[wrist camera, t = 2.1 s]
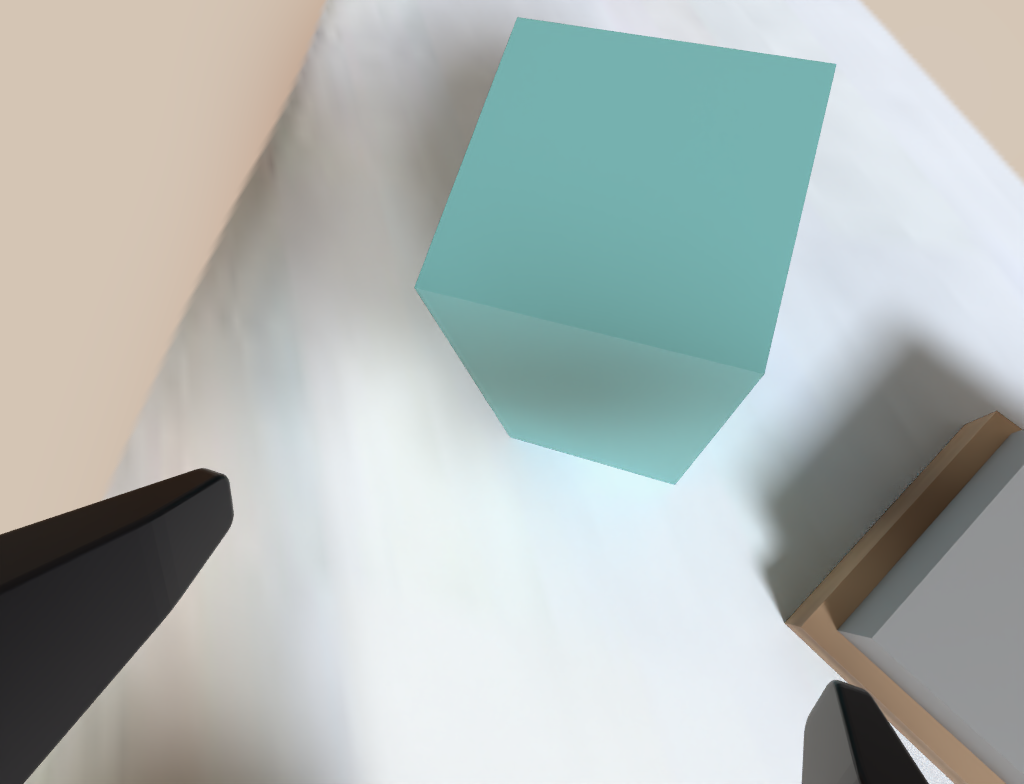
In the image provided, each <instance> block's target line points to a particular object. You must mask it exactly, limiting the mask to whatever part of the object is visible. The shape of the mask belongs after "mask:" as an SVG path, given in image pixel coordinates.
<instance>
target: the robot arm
mask: <svg viewBox="0 0 1024 784" xmlns="http://www.w3.org/2000/svg"><path fill="white" fill-rule="evenodd" d="M233 516H234V511H233V504H232V496H231V489H230V482H229V479H228V478H227V476H225V475H224V474H221V473H218V472H215V471H212V470H209V469H205V468H200V469H196V470H193V471H190V472H187V473H184V474H181V475H178V476H175V477H172V478H169V479H166V480H163V481H160V482H157V483H154V484H151V485H148V486H145V487H142V488H139V489H136V490H133V491H130V492H127V493H124V494H121V495H118V496H115V497H112V498H109V499H106V500H103V501H100V502H97V503H94V504H91V505H88V506H85V507H82V508H79V509H76V510H73V511H70V512H67V513H64V514H61V515H58V516H55V517H52V518H49V519H46V520H43V521H40V522H37V523H34V524H31V525H28V526H25V527H22V528H19V529H16V530H13V531H10V532H7V533H4V534H1V535H0V784H24V782H25V781H26V780H27V779H28V778H29V777H30V775H31V774H32V773H33V772H34V771H35V770H36V768H37V767H38V766H39V765H40V764H41V763H42V761H43V760H44V759H45V758H46V757H47V756H48V754H49V753H50V752H51V751H52V750H53V749H54V747H55V746H56V745H57V744H58V743H59V742H60V740H61V739H62V738H63V737H64V736H65V735H66V733H67V732H68V731H69V730H70V729H71V728H72V726H73V725H74V724H75V723H76V722H77V721H78V719H79V718H80V717H81V716H82V715H83V714H84V712H85V711H86V710H87V709H88V708H89V707H90V705H91V704H92V703H93V702H94V701H95V700H96V698H97V697H98V696H99V695H100V694H101V693H102V691H103V690H104V689H105V688H106V687H107V686H108V684H109V683H110V682H111V681H112V680H113V679H114V677H115V676H116V675H117V674H118V673H119V672H120V670H121V669H122V668H123V667H124V666H125V665H126V663H127V662H128V661H129V660H130V659H131V658H132V656H133V655H134V654H135V653H136V652H137V651H138V649H139V648H140V647H141V646H142V645H143V644H144V642H145V641H146V640H147V639H148V638H149V637H150V635H151V634H152V633H153V632H154V631H155V630H156V628H157V627H158V626H159V625H160V624H161V623H162V621H163V620H164V619H165V618H166V616H167V615H168V614H169V613H170V612H171V610H172V609H173V608H174V606H175V605H176V604H177V602H178V601H179V600H180V598H181V597H182V596H183V594H184V593H185V591H186V590H187V589H188V587H189V586H190V584H191V583H192V581H193V580H194V579H195V577H196V576H197V574H198V573H199V571H200V570H201V569H202V567H203V566H204V564H205V563H206V562H207V560H208V559H209V557H210V556H211V554H212V553H213V552H214V550H215V549H216V547H217V546H218V544H219V543H220V542H221V540H222V539H223V537H224V536H225V534H226V533H227V532H228V530H229V528H230V526H231V524H232V521H233ZM802 784H929V783H928V782H927V780H926V779H925V777H924V776H923V774H922V773H921V771H920V770H919V768H918V766H917V765H916V763H915V762H914V760H913V759H912V757H911V756H910V754H909V753H908V751H907V750H906V748H905V746H904V745H903V743H902V742H901V740H900V739H899V737H898V736H897V734H896V733H895V731H894V729H893V728H892V726H891V725H890V723H889V722H888V720H887V719H886V717H885V716H884V714H883V713H882V711H881V709H880V708H879V706H878V705H877V703H876V702H875V700H874V699H873V697H872V696H871V695H870V694H869V693H868V692H867V691H866V690H865V689H862V688H860V687H857V686H854V685H851V684H848V683H845V682H842V681H839V680H833V681H831V682H830V683H829V684H828V685H827V686H826V688H825V690H824V691H823V693H822V695H821V696H820V698H819V699H818V701H817V703H816V704H815V706H814V708H813V709H812V711H811V713H810V714H809V716H808V719H807V722H806V725H805V731H804V748H803V769H802Z"/></svg>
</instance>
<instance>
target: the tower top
mask: <svg viewBox="0 0 1024 784" xmlns="http://www.w3.org/2000/svg"><path fill="white" fill-rule="evenodd" d="M837 631H839V632H840V633H841V634H842V635H843V636H844V637H845V638H846V639H847V640H848V641H850V642H851V643H852V644H853V645H854V646H855V647H856V648H857V649H858V650H859V651H861V652H862V653H863V654H864V655H865V656H866V657H867V658H868V659H869V660H870V661H872V662H873V663H874V664H875V665H876V666H877V667H878V668H879V669H880V670H881V671H883V672H884V673H885V674H886V675H887V676H888V677H889V678H890V679H891V680H893V681H894V682H895V683H896V684H897V685H898V686H899V687H900V688H901V689H902V690H904V691H905V692H906V693H907V694H908V695H909V696H910V697H911V698H912V699H913V700H915V701H916V702H917V703H918V704H919V705H920V706H921V707H922V708H923V709H924V710H926V711H927V712H928V713H929V714H930V715H931V716H932V717H933V718H934V719H935V720H937V721H938V722H939V723H940V724H941V725H942V726H943V727H944V728H945V729H946V730H948V731H949V732H950V733H951V734H952V735H953V736H954V737H955V738H956V739H957V740H959V741H960V742H961V743H962V744H963V745H964V746H965V747H966V748H967V749H969V750H970V751H971V752H972V753H973V754H974V755H975V756H976V757H977V758H978V759H980V760H981V761H982V762H983V763H984V764H985V765H986V766H987V767H988V768H989V769H991V770H992V771H993V772H994V773H995V774H996V775H997V776H998V777H999V778H1000V779H1002V780H1003V781H1004V782H1005V783H1006V784H1024V429H1023V430H1020V431H1017V432H1014V433H1011V434H1010V435H1009V437H1008V438H1007V439H1006V440H1005V441H1004V442H1003V443H1002V445H1001V446H1000V447H999V448H998V449H997V450H996V451H995V452H994V454H993V455H992V456H991V457H990V458H989V459H988V460H987V461H986V463H985V464H984V465H983V466H982V467H981V468H980V469H979V470H978V472H977V473H976V474H975V475H974V476H973V477H972V478H971V480H970V481H969V482H968V483H967V484H966V485H965V486H964V487H963V489H962V490H961V491H960V492H959V493H958V494H957V495H956V496H955V498H954V499H953V500H952V501H951V502H950V503H949V504H948V506H947V507H946V508H945V509H944V510H943V511H942V512H941V513H940V515H939V516H938V517H937V518H936V519H935V520H934V521H933V522H932V524H931V525H930V526H929V527H928V528H927V529H926V530H925V531H924V533H923V534H922V535H921V536H920V537H919V538H918V539H917V541H916V542H915V543H914V544H913V545H912V546H911V547H910V548H909V550H908V551H907V552H906V553H905V554H904V555H903V556H902V557H901V559H900V560H899V561H898V562H897V563H896V564H895V565H894V567H893V568H892V569H891V570H890V571H889V572H888V573H887V574H886V576H885V577H884V578H883V579H882V580H881V581H880V582H879V583H878V585H877V586H876V587H875V588H874V589H873V590H872V591H871V592H870V594H869V595H868V596H867V597H866V598H865V599H864V600H863V602H862V603H861V604H860V605H859V606H858V607H857V608H856V609H855V611H854V612H853V613H852V614H851V615H850V616H849V617H848V618H847V620H846V621H845V622H844V623H843V624H842V625H841V626H840V627H839V629H838V630H837Z"/></svg>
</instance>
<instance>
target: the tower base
mask: <svg viewBox="0 0 1024 784" xmlns="http://www.w3.org/2000/svg"><path fill="white" fill-rule="evenodd" d="M1020 430H1022V429H1021V428H1019V427H1018V426H1017V425H1015V424H1014V423H1013V422H1011V421H1010V420H1009V419H1007V418H1006V417H1004V416H1003V415H1002V414H1000V413H999V412H998V411H995V412H993V413H991V414H988V415H986V416H984V417H981V418H979V419H977V420H974V421H972V422H970V423H967V424H965V425H964V426H963V427H962V428H961V429H960V431H959V432H958V433H957V434H956V435H955V436H954V437H953V438H952V439H951V440H950V442H949V443H948V444H947V445H946V446H945V447H944V448H943V449H942V450H941V451H940V453H939V454H938V455H937V456H936V457H935V458H934V459H933V460H932V461H931V462H930V464H929V465H928V466H927V467H926V468H925V469H924V470H923V471H922V472H921V473H920V475H919V476H918V477H917V478H916V479H915V480H914V481H913V482H912V483H911V484H910V485H909V487H908V488H907V489H906V490H905V491H904V492H903V493H902V494H901V495H900V496H899V498H898V499H897V500H896V501H895V502H894V503H893V504H892V505H891V506H890V507H889V509H888V510H887V511H886V512H885V513H884V514H883V515H882V516H881V517H880V518H879V520H878V521H877V522H876V523H875V524H874V525H873V526H872V527H871V528H870V529H869V531H868V532H867V533H866V534H865V535H864V536H863V537H862V538H861V539H860V540H859V542H858V543H857V544H856V545H855V546H854V547H853V548H852V549H851V550H850V551H849V553H848V554H847V555H846V556H845V557H844V558H843V559H842V560H841V561H840V562H839V563H838V565H837V566H836V567H835V568H834V569H833V570H832V571H831V572H830V573H829V574H828V576H827V577H826V578H825V579H824V580H823V581H822V582H821V583H820V584H819V585H818V587H817V588H816V589H815V590H814V591H813V592H812V593H811V594H810V595H809V596H808V598H807V599H806V600H805V601H804V602H803V603H802V604H801V605H800V606H799V607H798V609H797V610H796V611H795V612H794V613H793V614H792V615H791V616H790V617H789V618H788V620H787V621H786V622H785V624H786V625H787V626H788V627H789V628H790V629H791V630H792V631H793V632H794V633H796V634H797V635H798V636H799V637H800V638H801V639H802V640H803V641H804V642H805V643H806V644H807V645H808V646H809V647H810V648H811V649H812V650H814V651H815V652H816V653H817V654H818V655H819V656H820V657H821V658H822V659H823V660H824V661H825V662H826V663H827V664H828V665H829V666H831V667H832V668H833V669H834V670H835V671H836V672H837V673H838V674H839V675H840V676H841V677H842V678H843V679H844V680H845V681H846V682H847V683H849V684H851V685H854V686H857V687H860V688H862V689H865V690H866V691H867V692H868V693H869V694H870V695H871V696H872V697H873V699H874V700H875V702H876V703H877V705H878V706H879V708H880V709H881V711H882V713H883V714H884V716H885V717H886V719H887V720H888V721H889V722H890V723H891V724H892V725H893V726H894V727H895V728H896V729H897V730H898V731H899V732H900V733H901V734H903V735H904V736H905V737H906V738H907V739H908V740H909V741H910V742H911V743H912V744H913V745H914V746H915V747H916V748H917V749H918V750H919V751H921V752H922V753H923V754H924V755H925V756H926V757H927V758H928V759H929V760H930V761H931V762H932V763H933V764H934V765H935V766H936V767H938V768H939V769H940V770H941V771H942V772H943V773H944V774H945V775H946V776H947V777H948V778H949V779H950V780H951V781H952V782H953V783H954V784H1006V783H1005V782H1004V781H1003V780H1002V779H1000V778H999V777H998V776H997V775H996V774H995V773H994V772H993V771H992V770H991V769H989V768H988V767H987V766H986V765H985V764H984V763H983V762H982V761H981V760H980V759H978V758H977V757H976V756H975V755H974V754H973V753H972V752H971V751H970V750H969V749H967V748H966V747H965V746H964V745H963V744H962V743H961V742H960V741H959V740H957V739H956V738H955V737H954V736H953V735H952V734H951V733H950V732H949V731H948V730H946V729H945V728H944V727H943V726H942V725H941V724H940V723H939V722H938V721H937V720H935V719H934V718H933V717H932V716H931V715H930V714H929V713H928V712H927V711H926V710H924V709H923V708H922V707H921V706H920V705H919V704H918V703H917V702H916V701H915V700H913V699H912V698H911V697H910V696H909V695H908V694H907V693H906V692H905V691H904V690H902V689H901V688H900V687H899V686H898V685H897V684H896V683H895V682H894V681H893V680H891V679H890V678H889V677H888V676H887V675H886V674H885V673H884V672H883V671H881V670H880V669H879V668H878V667H877V666H876V665H875V664H874V663H873V662H872V661H870V660H869V659H868V658H867V657H866V656H865V655H864V654H863V653H862V652H861V651H859V650H858V649H857V648H856V647H855V646H854V645H853V644H852V643H851V642H850V641H848V640H847V639H846V638H845V637H844V636H843V635H842V634H841V633H840V632H839V631H837V630H838V629H839V627H840V626H841V625H842V624H843V623H844V622H845V621H846V620H847V618H848V617H849V616H850V615H851V614H852V613H853V612H854V611H855V609H856V608H857V607H858V606H859V605H860V604H861V603H862V602H863V600H864V599H865V598H866V597H867V596H868V595H869V594H870V592H871V591H872V590H873V589H874V588H875V587H876V586H877V585H878V583H879V582H880V581H881V580H882V579H883V578H884V577H885V576H886V574H887V573H888V572H889V571H890V570H891V569H892V568H893V567H894V565H895V564H896V563H897V562H898V561H899V560H900V559H901V557H902V556H903V555H904V554H905V553H906V552H907V551H908V550H909V548H910V547H911V546H912V545H913V544H914V543H915V542H916V541H917V539H918V538H919V537H920V536H921V535H922V534H923V533H924V531H925V530H926V529H927V528H928V527H929V526H930V525H931V524H932V522H933V521H934V520H935V519H936V518H937V517H938V516H939V515H940V513H941V512H942V511H943V510H944V509H945V508H946V507H947V506H948V504H949V503H950V502H951V501H952V500H953V499H954V498H955V496H956V495H957V494H958V493H959V492H960V491H961V490H962V489H963V487H964V486H965V485H966V484H967V483H968V482H969V481H970V480H971V478H972V477H973V476H974V475H975V474H976V473H977V472H978V470H979V469H980V468H981V467H982V466H983V465H984V464H985V463H986V461H987V460H988V459H989V458H990V457H991V456H992V455H993V454H994V452H995V451H996V450H997V449H998V448H999V447H1000V446H1001V445H1002V443H1003V442H1004V441H1005V440H1006V439H1007V438H1008V437H1009V435H1010V434H1011V433H1014V432H1017V431H1020Z"/></svg>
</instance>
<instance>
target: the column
mask: <svg viewBox="0 0 1024 784" xmlns="http://www.w3.org/2000/svg"><path fill="white" fill-rule="evenodd" d="M835 68H836V64H832V63H825V62H819V61H812V60H805V59H798V58H791V57H784V56H778V55H771V54H764V53H757V52H750V51H744V50H737V49H730V48H723V47H716V46H710V45H703V44H696V43H689V42H682V41H675V40H669V39H662V38H655V37H648V36H641V35H635V34H628V33H621V32H614V31H607V30H601V29H594V28H587V27H580V26H573V25H566V24H560V23H553V22H546V21H539V20H532V19H526V18H519V17H517V20H516V22H515V25H514V28H513V30H512V33H511V35H510V38H509V41H508V43H507V46H506V49H505V51H504V54H503V56H502V59H501V62H500V64H499V67H498V70H497V72H496V75H495V77H494V80H493V83H492V85H491V88H490V91H489V93H488V96H487V98H486V101H485V104H484V106H483V109H482V112H481V114H480V117H479V119H478V122H477V125H476V127H475V130H474V132H473V135H472V138H471V140H470V143H469V146H468V148H467V151H466V153H465V156H464V159H463V161H462V164H461V167H460V169H459V172H458V174H457V177H456V180H455V182H454V185H453V188H452V190H451V193H450V195H449V198H448V201H447V203H446V206H445V209H444V211H443V214H442V216H441V219H440V222H439V224H438V227H437V230H436V232H435V235H434V237H433V240H432V243H431V245H430V248H429V251H428V253H427V256H426V258H425V261H424V264H423V266H422V269H421V272H420V274H419V277H418V279H417V282H416V285H415V287H414V288H415V289H416V291H417V292H418V294H419V296H420V297H421V299H422V300H423V302H424V303H425V305H426V306H427V308H428V310H429V311H430V313H431V314H432V316H433V317H434V319H435V321H436V322H437V324H438V325H439V327H440V328H441V330H442V332H443V333H444V335H445V336H446V338H447V339H448V341H449V342H450V344H451V346H452V347H453V349H454V350H455V352H456V353H457V355H458V357H459V358H460V360H461V361H462V363H463V364H464V366H465V368H466V369H467V371H468V372H469V374H470V375H471V377H472V378H473V380H474V382H475V383H476V385H477V386H478V388H479V389H480V391H481V393H482V394H483V396H484V397H485V399H486V400H487V402H488V404H489V405H490V407H491V408H492V410H493V411H494V413H495V414H496V416H497V418H498V419H499V421H500V422H501V424H502V425H503V427H504V429H505V430H506V432H507V433H508V435H509V436H510V437H512V438H515V439H519V440H522V441H526V442H529V443H532V444H536V445H539V446H543V447H546V448H550V449H553V450H557V451H560V452H563V453H567V454H570V455H574V456H577V457H581V458H584V459H588V460H591V461H594V462H598V463H601V464H605V465H608V466H612V467H615V468H619V469H622V470H625V471H629V472H632V473H636V474H639V475H643V476H646V477H650V478H653V479H656V480H660V481H663V482H667V483H670V484H674V485H675V484H676V483H677V482H678V480H679V479H680V478H681V477H682V476H683V474H684V473H685V472H686V471H687V469H688V468H689V467H690V466H691V464H692V463H693V462H694V461H695V459H696V458H697V457H698V456H699V454H700V453H701V452H702V451H703V449H704V448H705V447H706V446H707V444H708V443H709V442H710V441H711V440H712V438H713V437H714V436H715V435H716V433H717V432H718V431H719V430H720V428H721V427H722V426H723V425H724V423H725V422H726V421H727V420H728V418H729V417H730V416H731V415H732V413H733V412H734V411H735V410H736V408H737V407H738V406H739V405H740V404H741V402H742V401H743V400H744V399H745V397H746V396H747V395H748V394H749V392H750V391H751V390H752V389H753V387H754V386H755V385H756V384H757V382H758V381H759V380H760V379H761V377H762V376H763V375H764V373H765V368H766V364H767V360H768V356H769V351H770V347H771V343H772V338H773V334H774V330H775V325H776V321H777V317H778V313H779V308H780V304H781V300H782V295H783V291H784V287H785V283H786V278H787V274H788V270H789V265H790V261H791V257H792V252H793V248H794V244H795V240H796V235H797V231H798V227H799V222H800V218H801V214H802V210H803V205H804V201H805V197H806V192H807V188H808V184H809V179H810V175H811V171H812V167H813V162H814V158H815V154H816V149H817V145H818V141H819V137H820V132H821V128H822V124H823V119H824V115H825V111H826V106H827V102H828V98H829V94H830V89H831V85H832V81H833V76H834V72H835Z"/></svg>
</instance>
